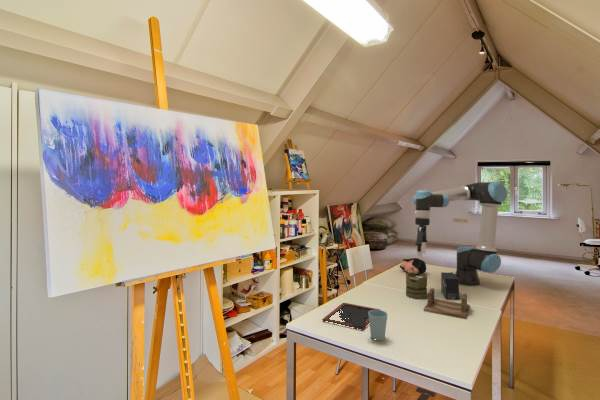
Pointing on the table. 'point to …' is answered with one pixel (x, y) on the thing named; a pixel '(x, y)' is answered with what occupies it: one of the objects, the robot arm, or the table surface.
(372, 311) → the cup
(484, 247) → the robot arm
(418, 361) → the table surface
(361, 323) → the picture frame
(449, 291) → the small box
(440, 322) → the table surface
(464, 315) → the roll stand
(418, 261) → the head
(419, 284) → the piston
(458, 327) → the table surface
